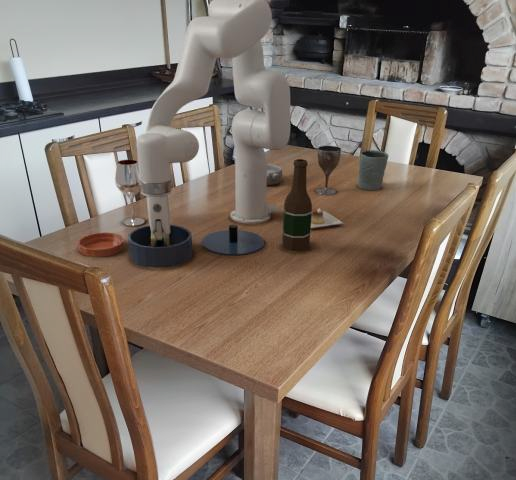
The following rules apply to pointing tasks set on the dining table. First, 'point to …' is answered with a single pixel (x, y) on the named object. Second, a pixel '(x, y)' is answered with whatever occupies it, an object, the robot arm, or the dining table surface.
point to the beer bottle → (297, 211)
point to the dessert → (323, 219)
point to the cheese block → (162, 237)
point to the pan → (160, 255)
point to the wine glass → (328, 164)
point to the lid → (233, 242)
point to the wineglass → (129, 185)
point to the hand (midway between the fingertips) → (161, 253)
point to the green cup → (372, 169)
